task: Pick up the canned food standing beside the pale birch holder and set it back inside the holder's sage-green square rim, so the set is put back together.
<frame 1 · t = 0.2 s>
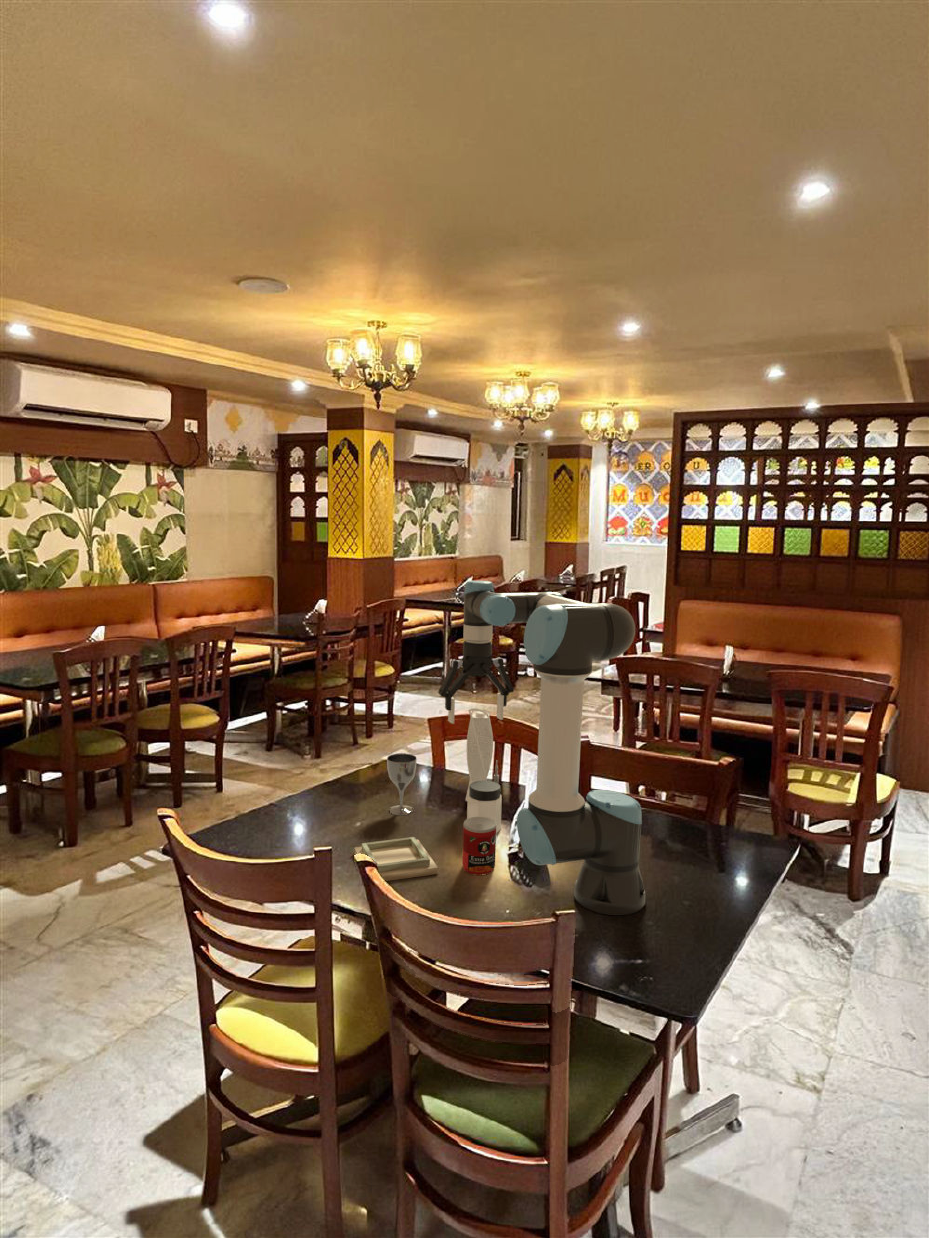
hand: (475, 720, 211), 28 cm above the table, tool pointing down, fingers open, 13 cm apart
white vase: (479, 803, 229), on the table
canned food: (478, 868, 188), on the table
wine glass: (401, 811, 221), on the table
holder: (394, 863, 189), on the table
jar: (483, 830, 209), on the table
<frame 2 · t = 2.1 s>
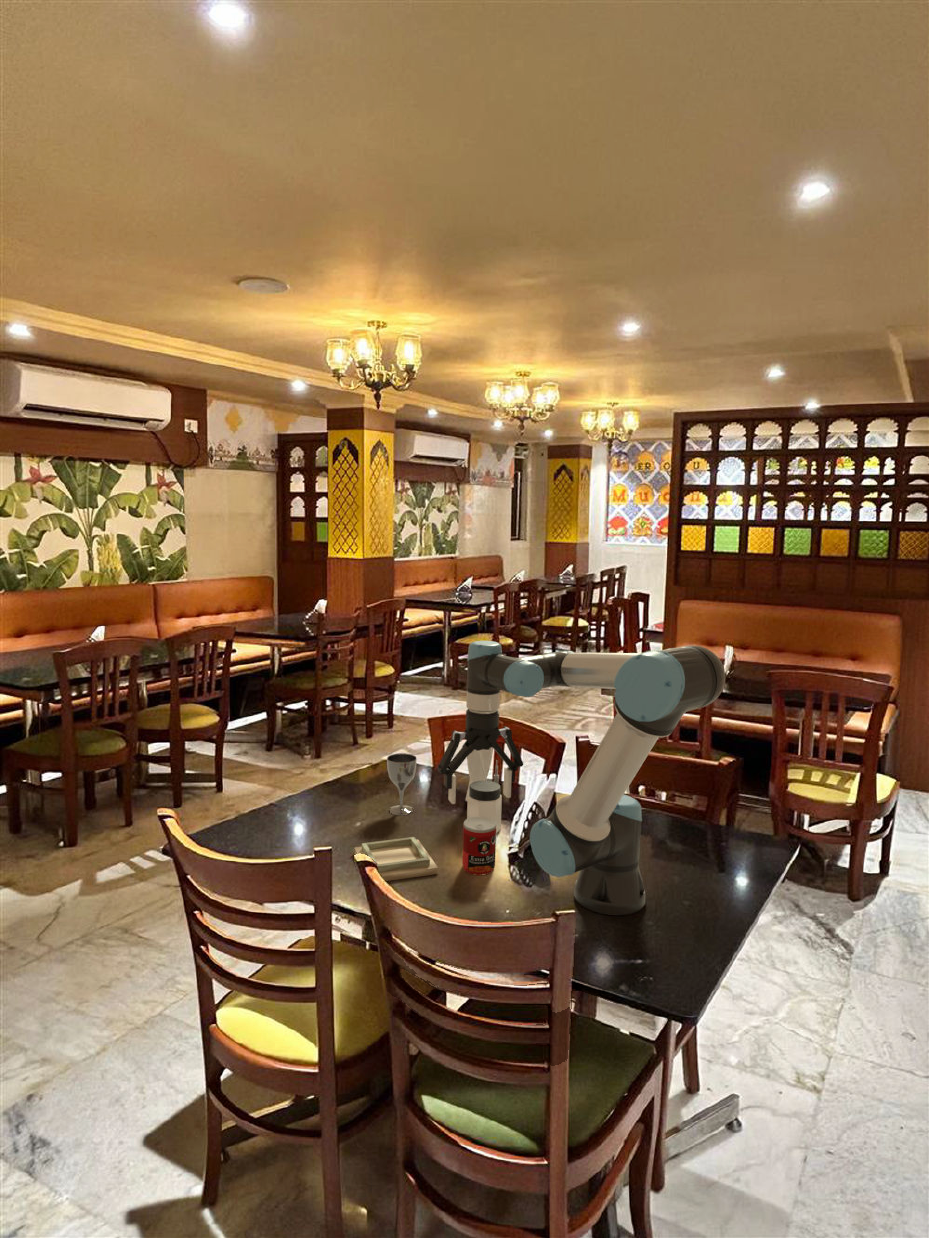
hand: (479, 798, 186), 17 cm above the table, tool pointing down, fingers open, 13 cm apart
nothing on the table moved.
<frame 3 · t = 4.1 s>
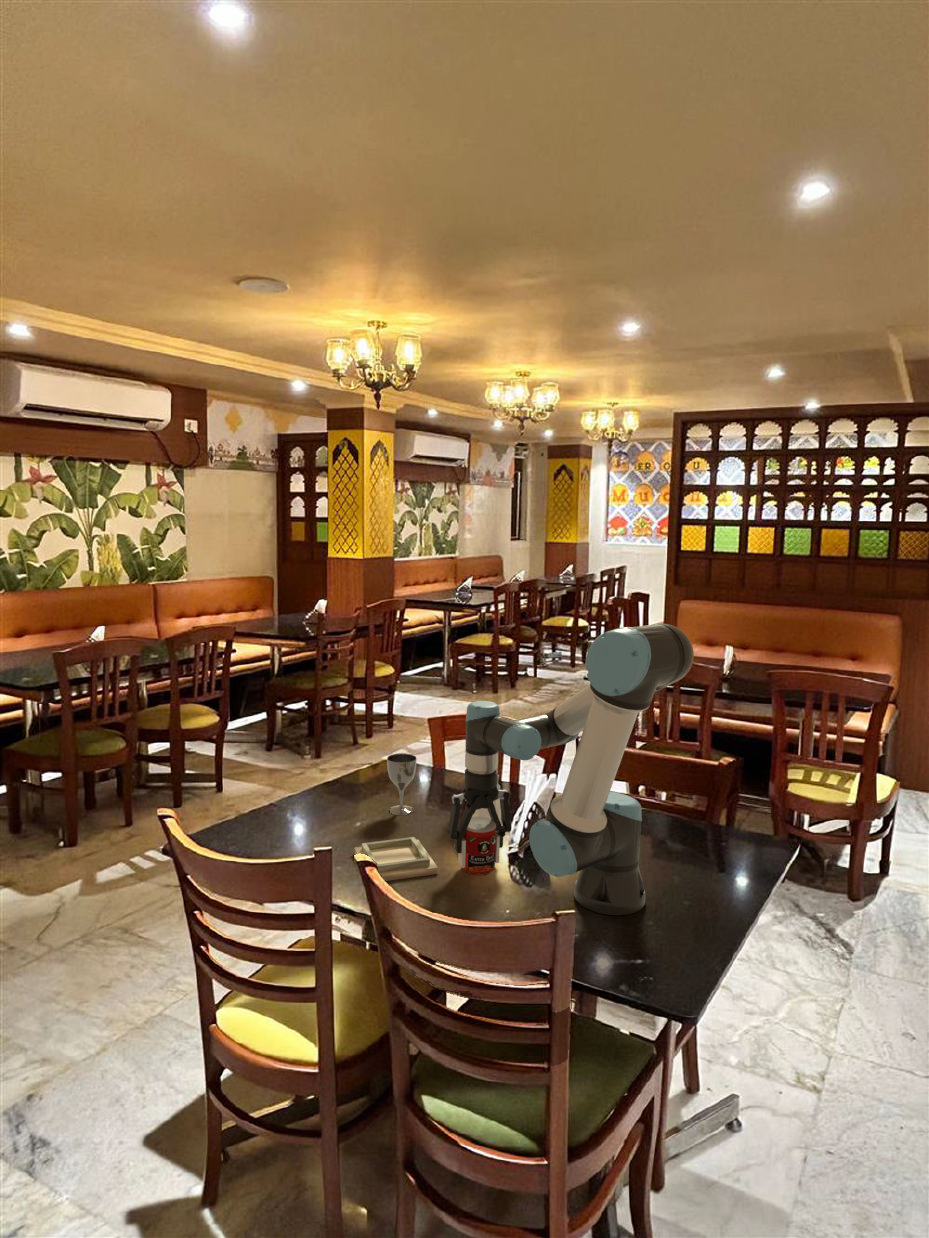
hand: (478, 862, 188), 1 cm above the table, tool pointing down, fingers closed on canned food, 8 cm apart
canned food: (478, 868, 188), on the table, touching gripper
everything else where it was.
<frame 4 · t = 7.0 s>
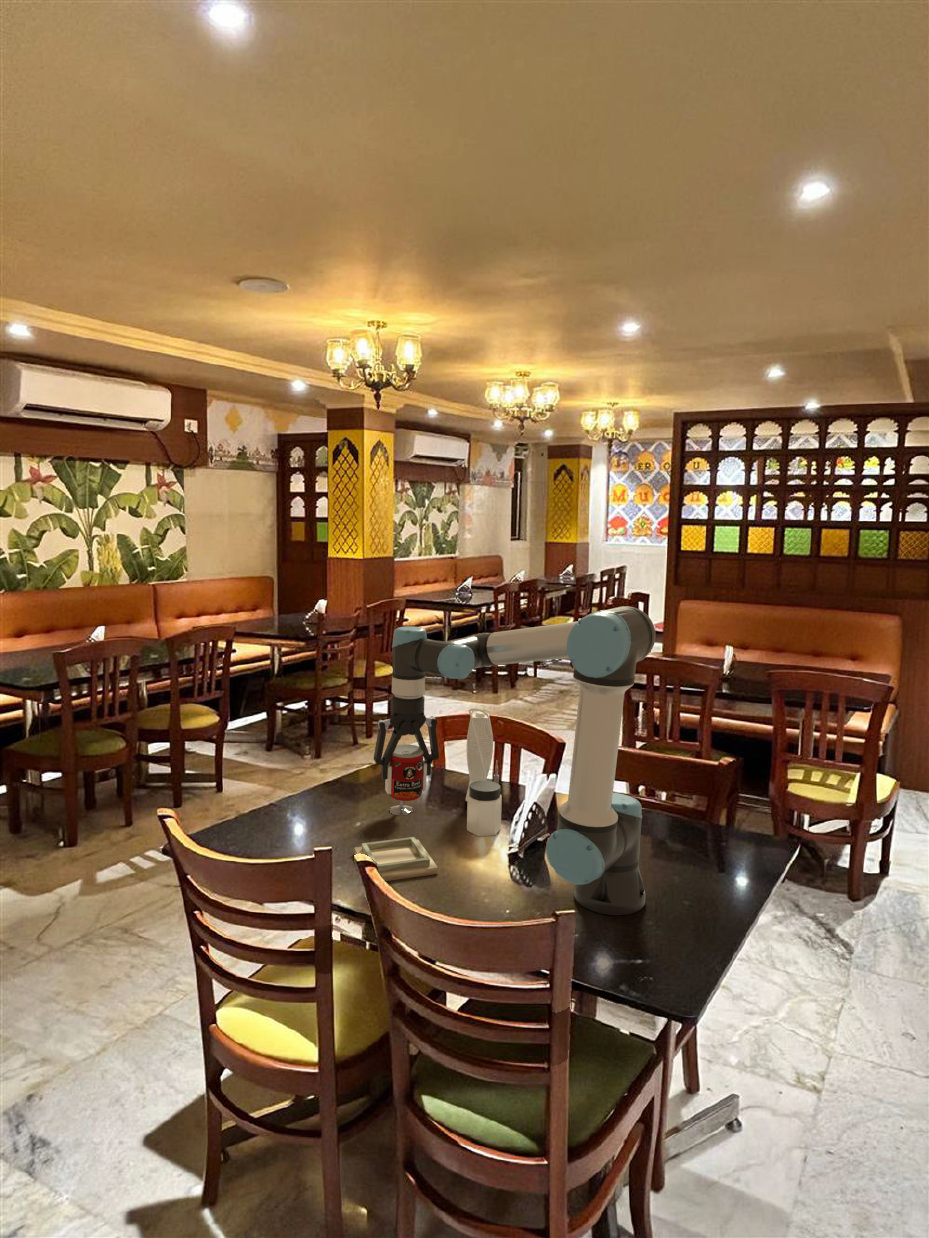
hand: (405, 790, 187), 18 cm above the table, tool pointing down, fingers closed on canned food, 8 cm apart
canned food: (405, 795, 187), point 16 cm above the table, touching gripper
everything else where it was.
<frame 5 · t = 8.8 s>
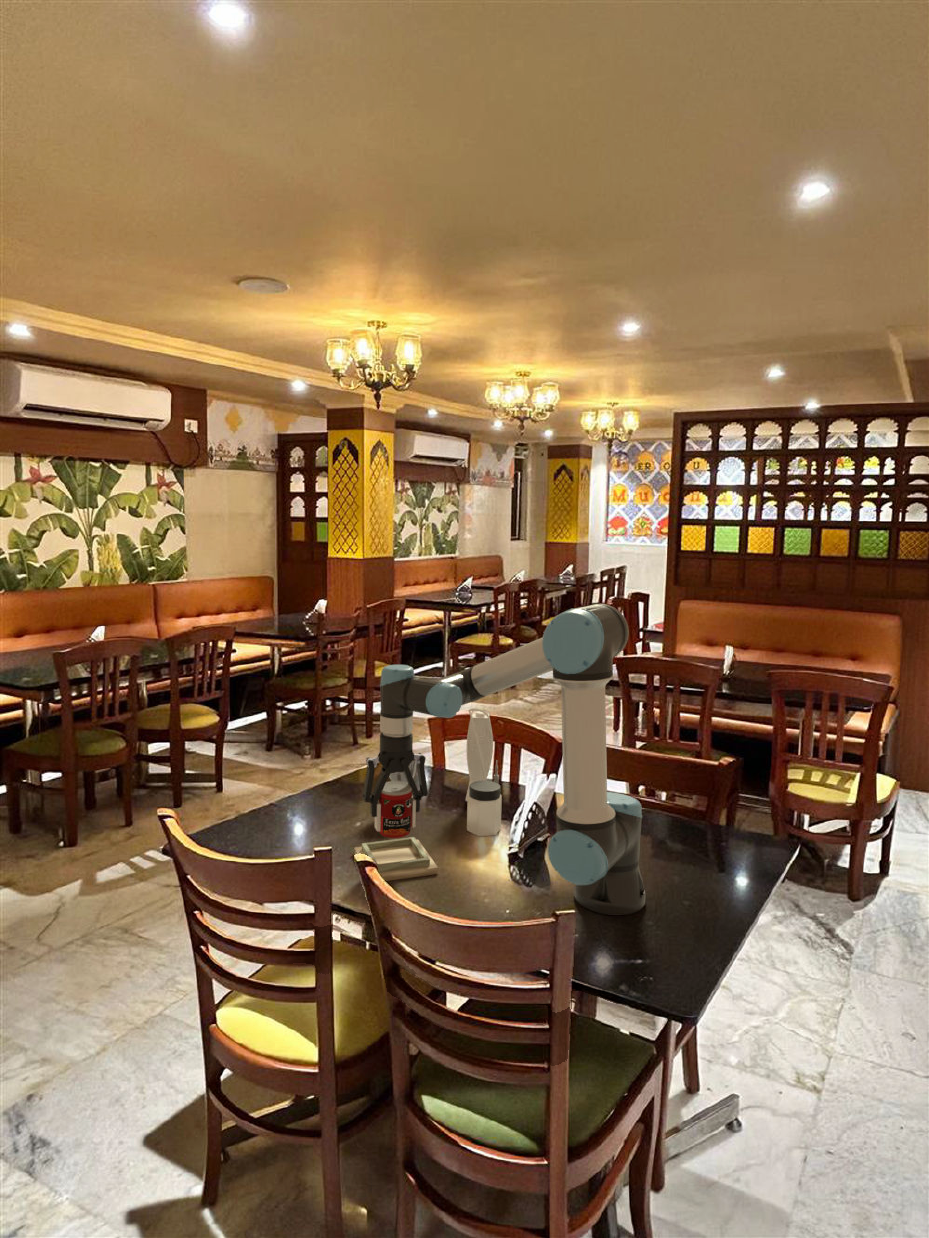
hand: (395, 826, 188), 9 cm above the table, tool pointing down, fingers closed on canned food, 8 cm apart
canned food: (394, 832, 188), point 8 cm above the table, touching gripper
everything else where it was.
when the fingers open (5 cm above the table, at t = 10.1 s): canned food drops 2 cm, resting on holder.
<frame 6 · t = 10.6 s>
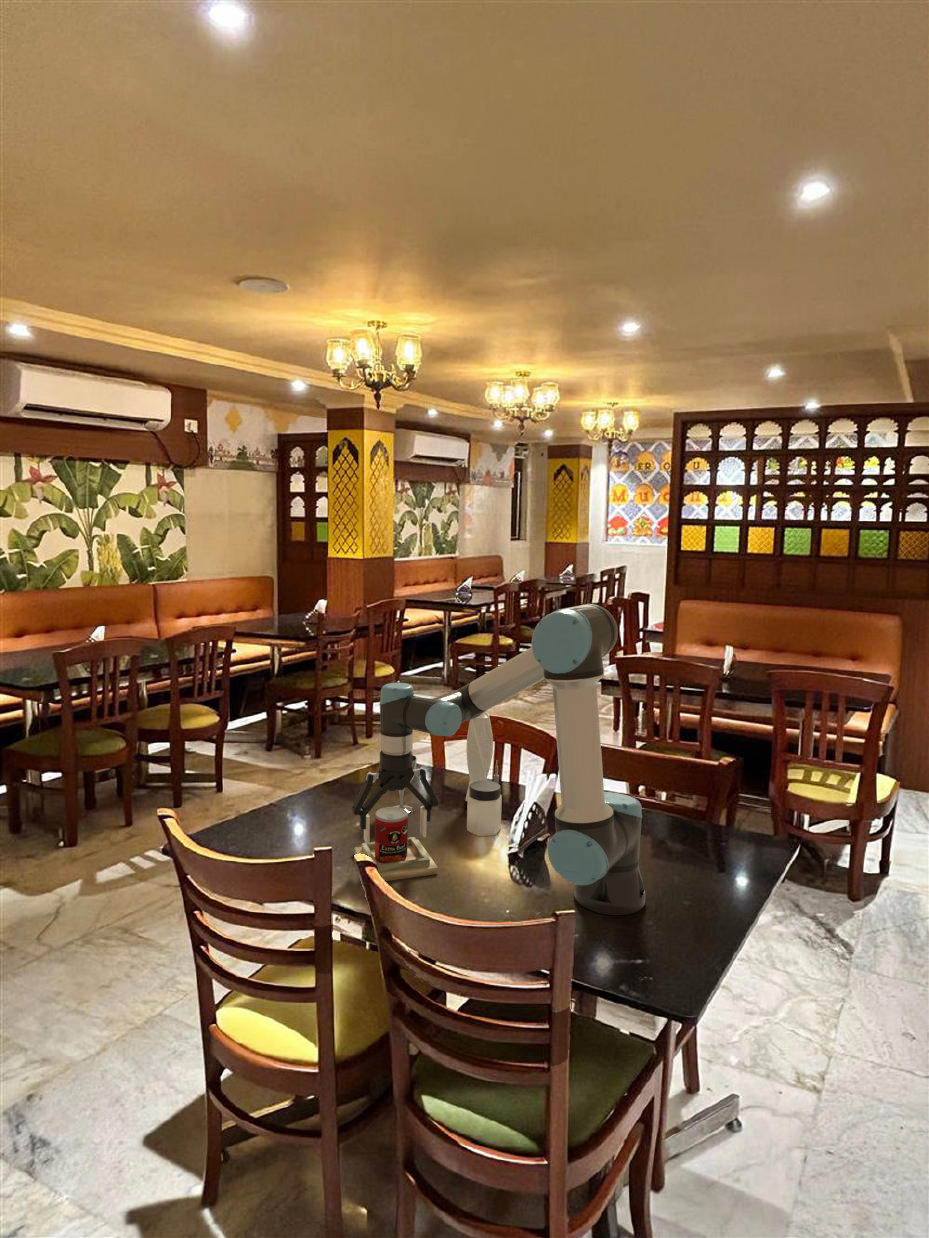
hand: (395, 838, 188), 6 cm above the table, tool pointing down, fingers open, 13 cm apart
canned food: (391, 858, 189), point 1 cm above the table, touching holder
everything else where it was.
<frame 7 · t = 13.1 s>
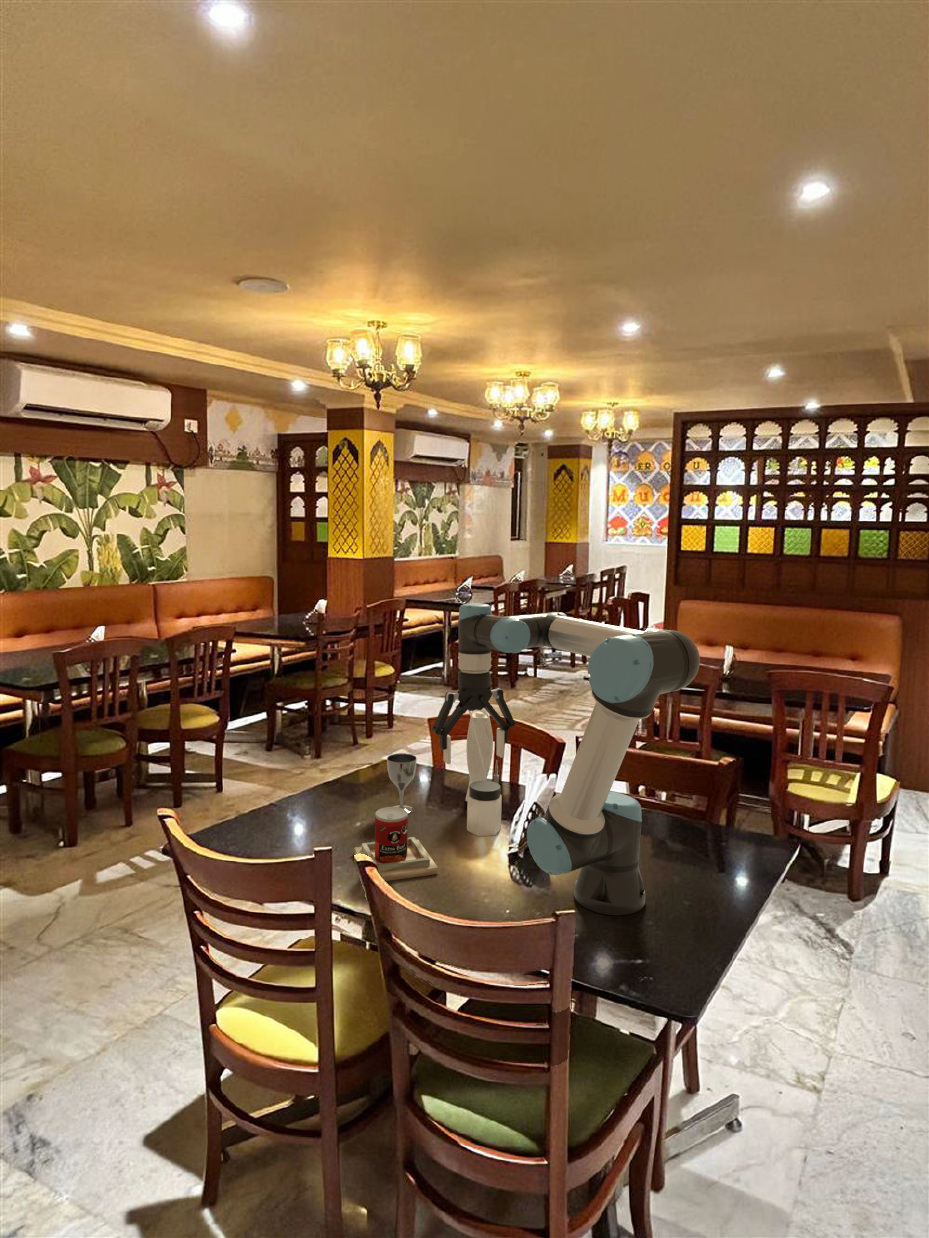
hand: (474, 759, 189), 25 cm above the table, tool pointing down, fingers open, 13 cm apart
nothing on the table moved.
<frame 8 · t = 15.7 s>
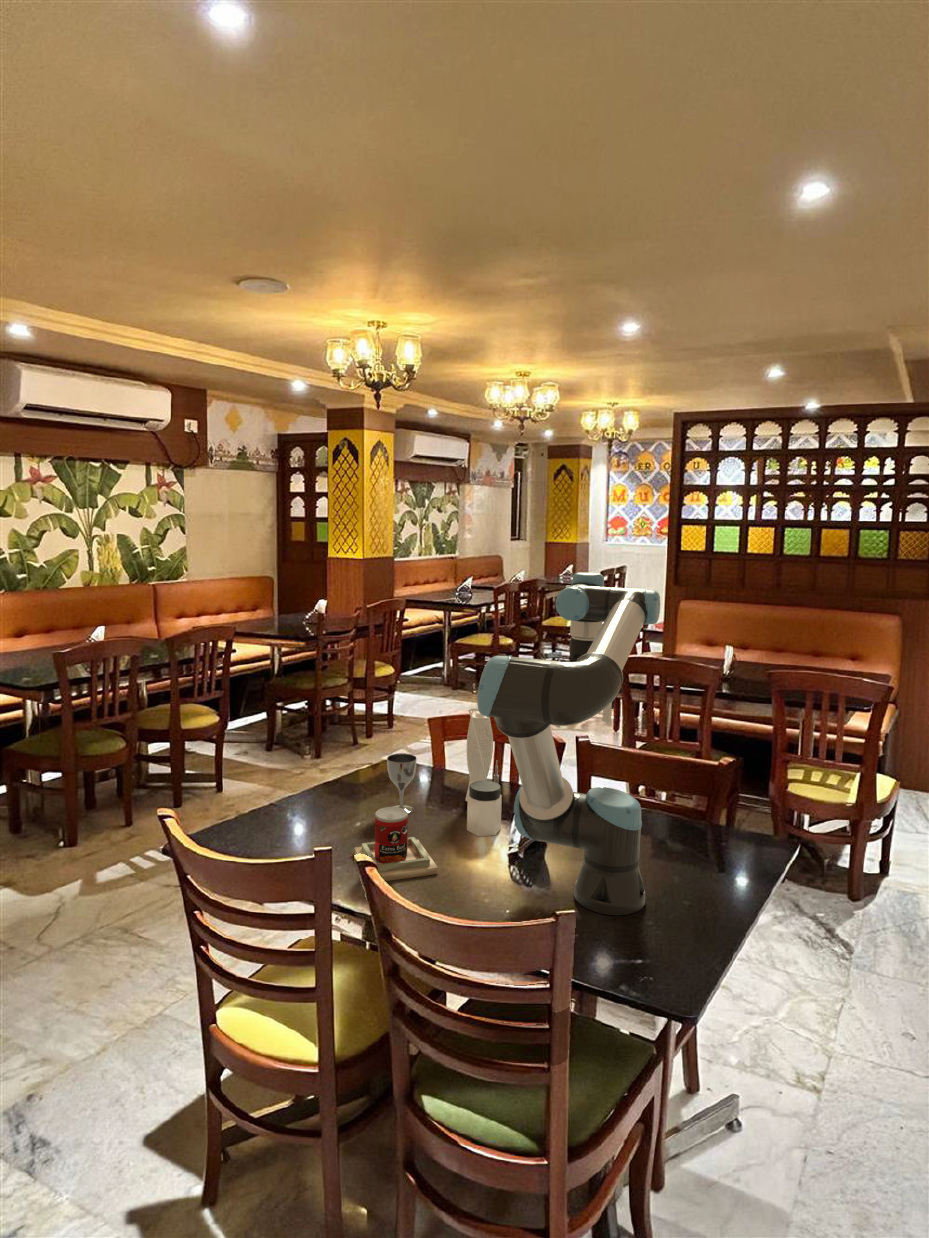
hand: (581, 724, 195), 32 cm above the table, tool pointing down, fingers open, 13 cm apart
nothing on the table moved.
at the end: canned food 1.0 cm off-centre on the holder, point 1.3 cm above the holder's base; canned food tilted 0°; the gripper is holding nothing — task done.
